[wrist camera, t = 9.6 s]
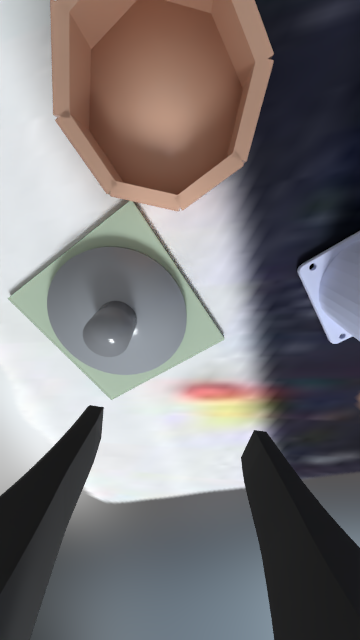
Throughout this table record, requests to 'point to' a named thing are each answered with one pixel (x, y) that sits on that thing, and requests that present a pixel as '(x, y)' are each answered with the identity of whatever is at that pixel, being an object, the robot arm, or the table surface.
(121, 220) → the mat
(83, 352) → the lid
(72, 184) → the table surface
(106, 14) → the dish
